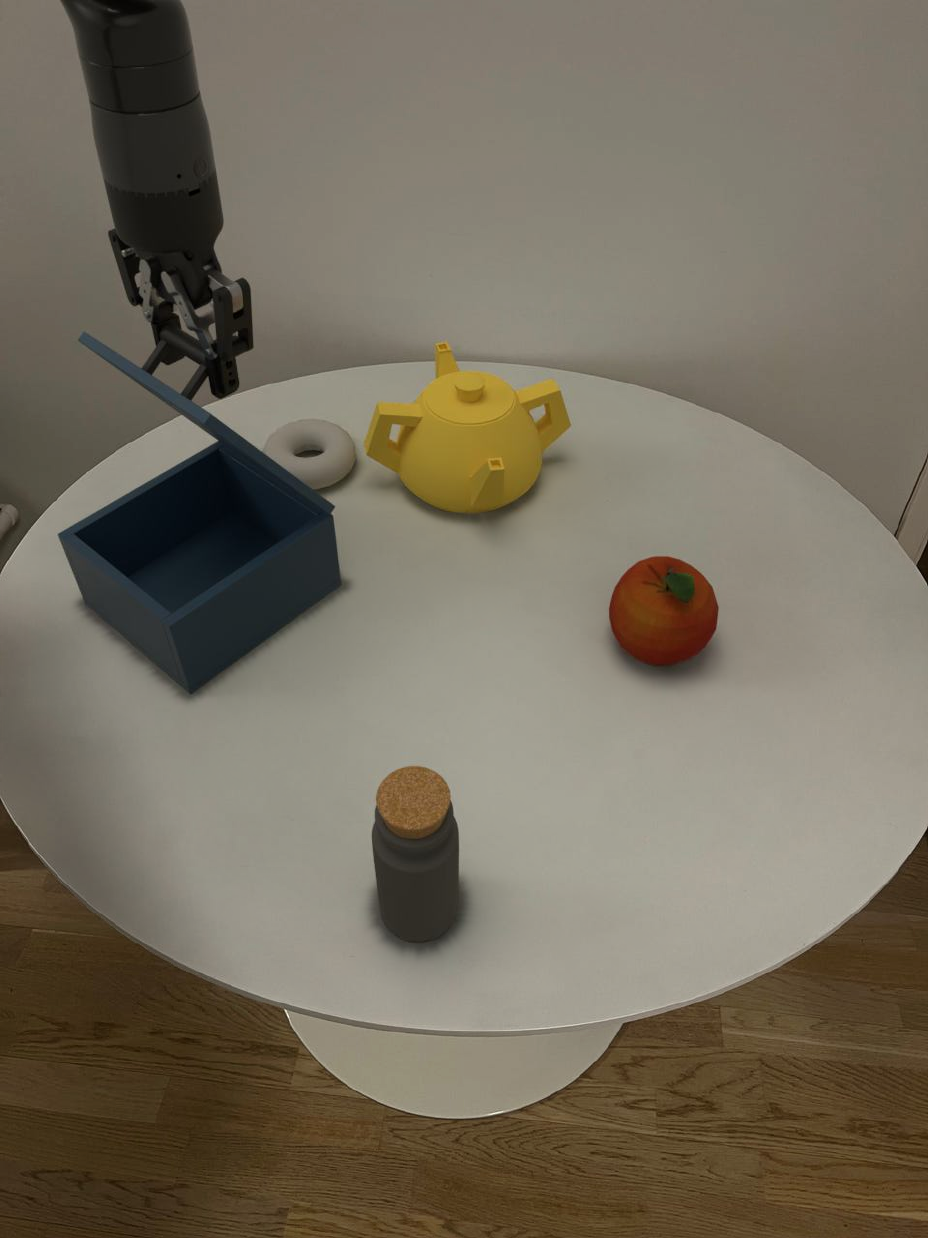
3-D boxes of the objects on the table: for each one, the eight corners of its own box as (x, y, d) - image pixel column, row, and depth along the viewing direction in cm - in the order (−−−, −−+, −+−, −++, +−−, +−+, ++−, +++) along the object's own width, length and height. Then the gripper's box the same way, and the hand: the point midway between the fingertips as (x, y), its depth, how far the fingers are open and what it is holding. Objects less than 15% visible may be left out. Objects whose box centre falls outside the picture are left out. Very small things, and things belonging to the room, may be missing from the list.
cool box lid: (204, 424, 72) (245, 363, 72) (76, 340, 80) (114, 284, 80) (330, 515, 89) (363, 465, 89) (216, 439, 96) (247, 393, 96)
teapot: (358, 489, 106) (350, 394, 97) (442, 408, 115) (441, 315, 106) (497, 547, 100) (501, 452, 91) (572, 457, 110) (583, 363, 101)
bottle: (461, 940, 73) (462, 834, 62) (380, 945, 72) (366, 840, 61) (456, 867, 77) (456, 755, 65) (379, 871, 76) (366, 759, 65)
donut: (291, 510, 104) (374, 473, 107) (287, 484, 101) (372, 448, 105) (248, 459, 109) (329, 426, 113) (243, 433, 107) (325, 400, 110)
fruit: (686, 597, 96) (705, 519, 88) (724, 673, 90) (749, 596, 82) (590, 612, 94) (601, 534, 87) (622, 691, 88) (637, 614, 81)
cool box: (190, 694, 87) (169, 626, 81) (84, 604, 94) (56, 533, 88) (341, 585, 96) (333, 515, 90) (234, 509, 104) (219, 439, 97)
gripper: (50, 148, 69) (106, 360, 82) (178, 216, 63) (219, 434, 75) (140, 119, 73) (182, 325, 86) (270, 179, 67) (295, 393, 79)
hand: (199, 375), depth 80 cm, fingers closed on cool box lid, 6 cm apart
